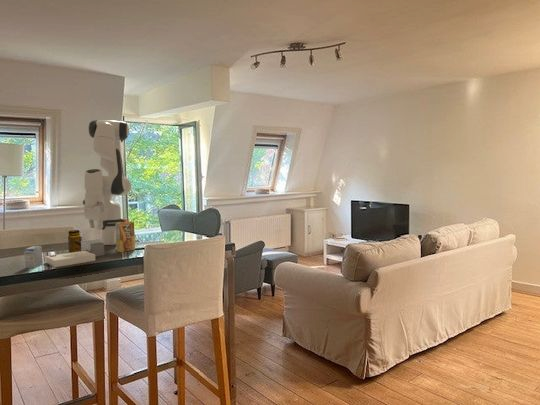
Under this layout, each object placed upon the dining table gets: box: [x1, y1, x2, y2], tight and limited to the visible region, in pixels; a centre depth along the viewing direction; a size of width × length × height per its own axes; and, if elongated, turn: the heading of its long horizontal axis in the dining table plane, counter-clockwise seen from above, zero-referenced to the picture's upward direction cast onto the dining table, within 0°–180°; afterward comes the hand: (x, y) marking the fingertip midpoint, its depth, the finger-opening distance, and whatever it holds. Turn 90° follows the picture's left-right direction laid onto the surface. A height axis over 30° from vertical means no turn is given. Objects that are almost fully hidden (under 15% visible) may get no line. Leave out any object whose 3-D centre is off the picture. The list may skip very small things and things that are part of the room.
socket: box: [45, 250, 96, 268], centre depth 203 cm, size 18×14×3 cm
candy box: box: [115, 220, 136, 253], centre depth 227 cm, size 9×4×15 cm, turn 142°
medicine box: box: [23, 245, 44, 269], centre depth 195 cm, size 8×4×9 cm, turn 5°
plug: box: [89, 241, 106, 257], centre depth 217 cm, size 5×5×6 cm
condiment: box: [63, 229, 82, 254], centre depth 223 cm, size 7×8×12 cm
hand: (96, 228), depth 216 cm, fingers open, 8 cm apart
